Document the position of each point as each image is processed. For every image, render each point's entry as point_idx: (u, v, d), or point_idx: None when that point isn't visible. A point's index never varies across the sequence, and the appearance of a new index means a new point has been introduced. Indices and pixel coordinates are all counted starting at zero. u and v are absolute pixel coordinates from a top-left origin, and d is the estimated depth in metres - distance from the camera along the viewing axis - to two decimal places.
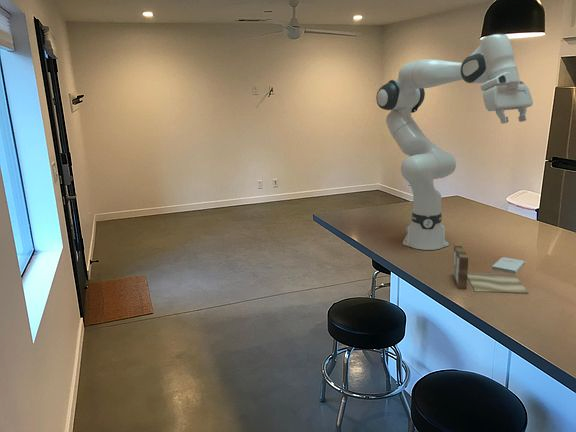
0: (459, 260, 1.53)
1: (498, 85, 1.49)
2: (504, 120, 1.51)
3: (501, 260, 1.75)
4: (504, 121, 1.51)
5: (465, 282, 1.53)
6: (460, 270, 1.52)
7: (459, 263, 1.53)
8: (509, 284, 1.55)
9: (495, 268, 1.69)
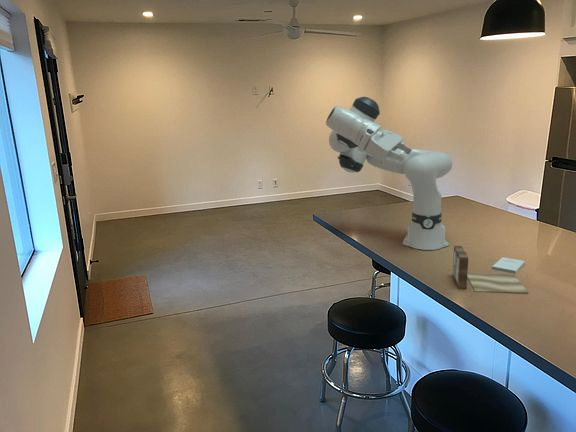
0: (459, 260, 1.53)
1: (372, 136, 1.49)
2: (401, 157, 1.49)
3: (501, 260, 1.75)
4: (402, 158, 1.49)
5: (465, 282, 1.53)
6: (460, 270, 1.52)
7: (459, 263, 1.53)
8: (509, 284, 1.55)
9: (495, 268, 1.69)
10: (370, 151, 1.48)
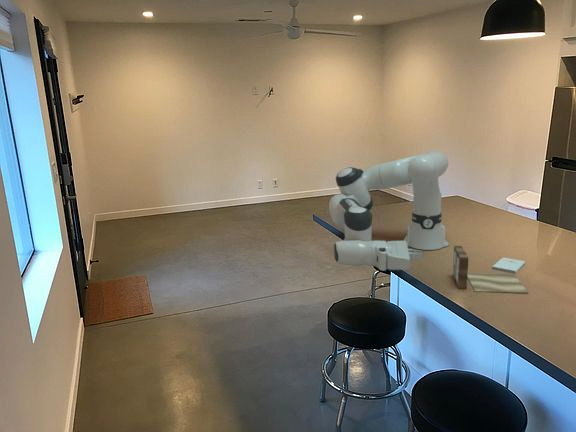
0: (459, 260, 1.53)
1: (387, 253, 1.53)
2: (420, 254, 1.57)
3: (502, 260, 1.75)
4: (421, 254, 1.57)
5: (465, 282, 1.53)
6: (460, 270, 1.52)
7: (459, 263, 1.53)
8: (509, 284, 1.55)
9: (495, 268, 1.69)
10: (393, 266, 1.52)
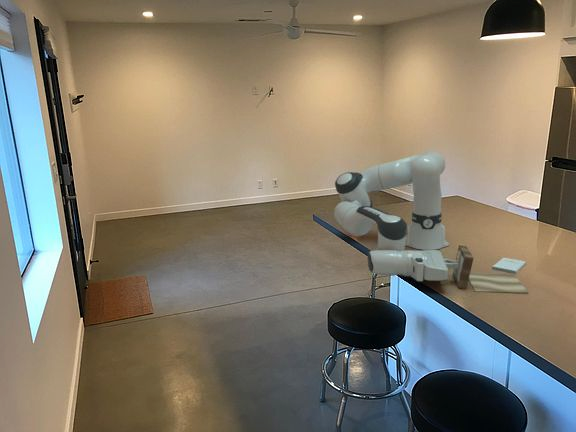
0: (464, 259, 1.52)
1: (425, 264, 1.52)
2: (457, 264, 1.56)
3: (502, 260, 1.75)
4: (457, 264, 1.56)
5: (466, 282, 1.53)
6: (463, 269, 1.52)
7: (463, 262, 1.52)
8: (509, 284, 1.55)
9: (495, 268, 1.69)
10: (431, 277, 1.50)
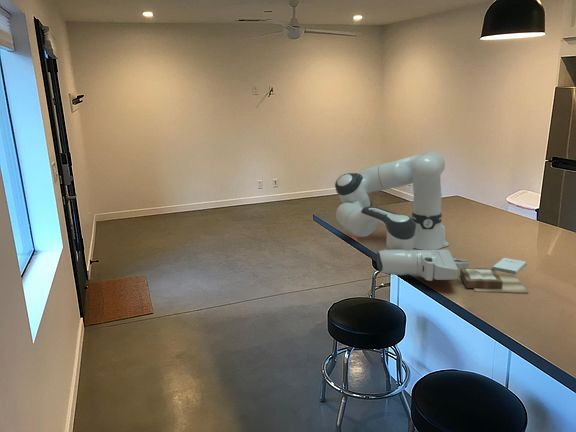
0: (497, 280, 1.52)
1: (434, 263, 1.52)
2: (466, 264, 1.56)
3: (502, 261, 1.75)
4: (467, 264, 1.56)
5: (474, 286, 1.53)
6: (487, 282, 1.52)
7: (494, 280, 1.52)
8: (509, 284, 1.55)
9: (496, 268, 1.69)
10: (441, 276, 1.50)
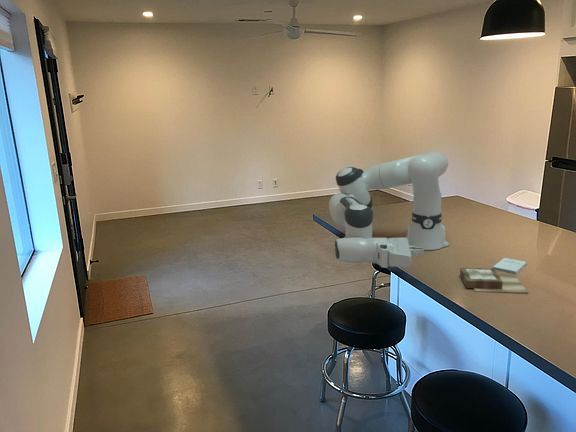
0: (497, 280, 1.52)
1: (389, 250, 1.53)
2: (421, 251, 1.57)
3: (502, 261, 1.74)
4: (422, 251, 1.57)
5: (474, 286, 1.53)
6: (487, 282, 1.52)
7: (494, 280, 1.52)
8: (509, 284, 1.55)
9: (496, 269, 1.68)
10: (395, 263, 1.51)
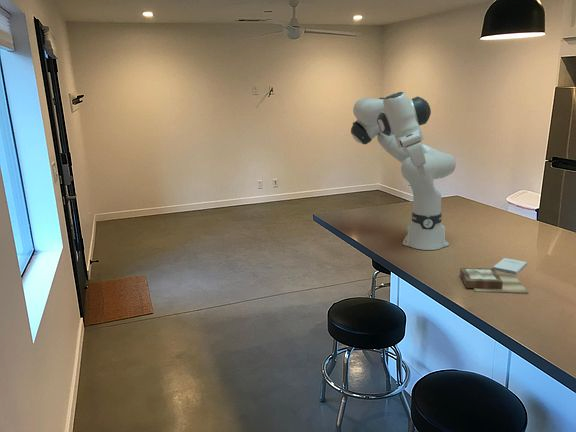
0: (497, 280, 1.52)
1: (420, 142, 1.51)
2: (424, 175, 1.57)
3: (503, 261, 1.74)
4: (424, 175, 1.58)
5: (474, 286, 1.53)
6: (487, 282, 1.52)
7: (494, 280, 1.52)
8: (509, 284, 1.55)
9: (496, 269, 1.68)
10: (412, 152, 1.49)
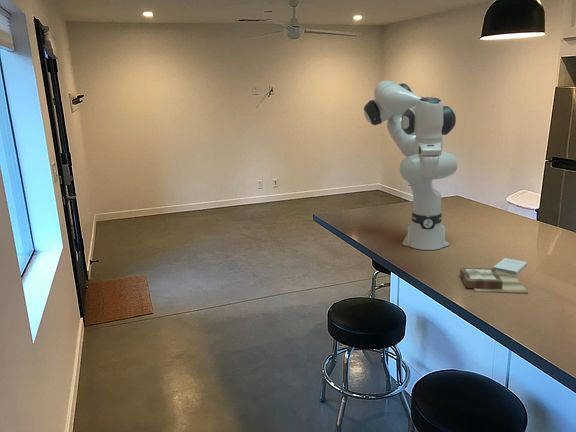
0: (497, 280, 1.52)
1: (439, 156, 1.51)
2: (428, 186, 1.60)
3: (503, 261, 1.74)
4: (428, 187, 1.60)
5: (474, 286, 1.53)
6: (487, 282, 1.52)
7: (494, 280, 1.52)
8: (509, 284, 1.55)
9: (496, 269, 1.68)
10: (427, 163, 1.50)
